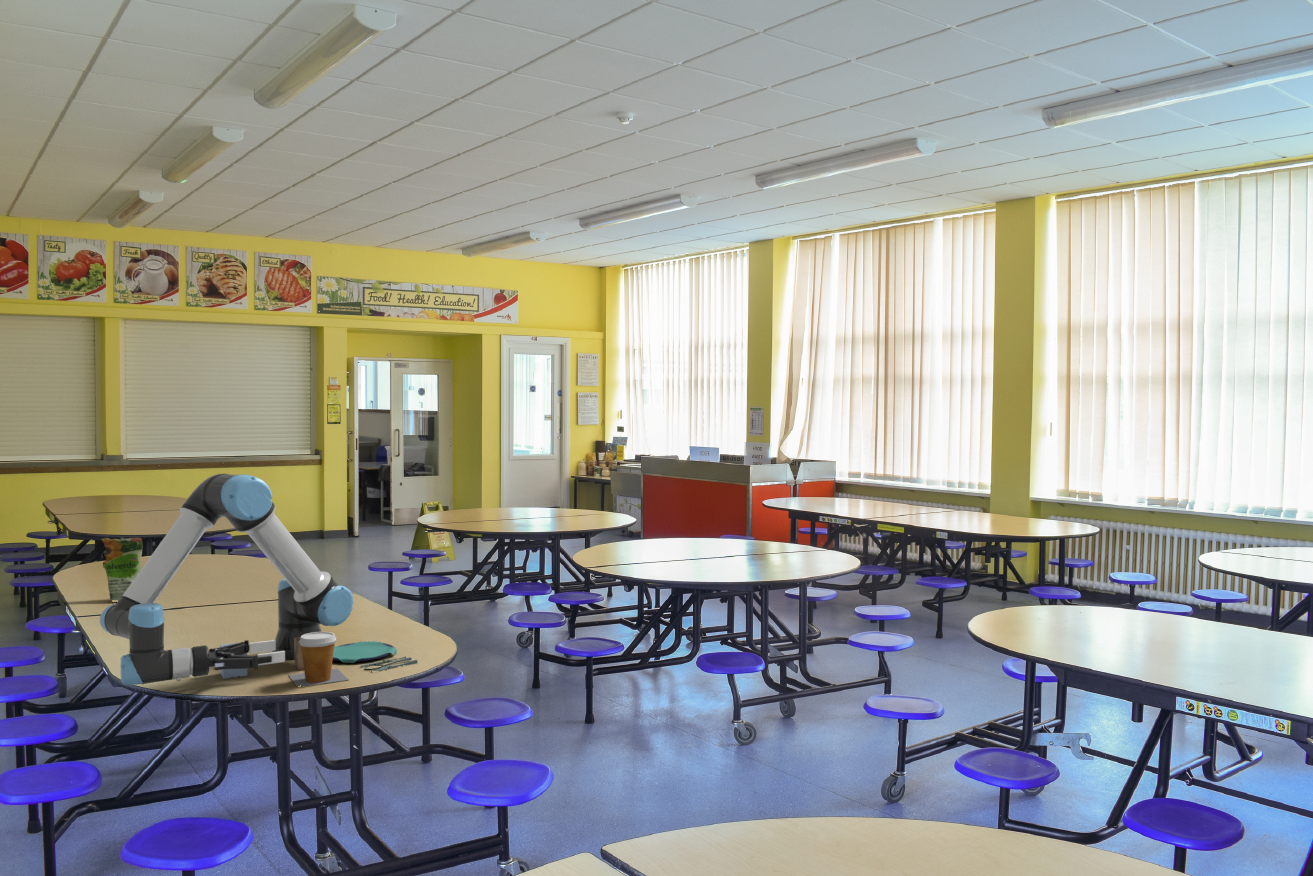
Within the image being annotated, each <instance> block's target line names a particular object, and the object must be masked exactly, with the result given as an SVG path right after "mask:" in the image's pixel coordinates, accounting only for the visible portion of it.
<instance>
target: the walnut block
mask: <svg viewBox="0 0 1313 876" xmlns="http://www.w3.org/2000/svg"><path fill="white" fill-rule="evenodd" d="M300 638H301V637H297V638H294V665H295V666H296V667H295V666H294V667H295V668H296V669H297V671H303V669H304V665H303V658H302V650H301V645H300V643H299V641H300Z"/></svg>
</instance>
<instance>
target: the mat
mask: <svg viewBox="0 0 1313 876" xmlns="http://www.w3.org/2000/svg"><path fill="white" fill-rule="evenodd" d="M288 677H289V678H290V680H291V679H292V680H291V681H292V682H293V683H294V685H295V684H296V685H297V686H300V685H301V687H300V688H304V687H303V686H307V687H311V686H310V685H314V686H317V685H316V684H320V685H325V684H324V683H327V684H333V682H334V683H339V682H346V681H347V680H348V681H349V678H348V677H347V676H345V675H344V673H343V672H341V670H340V669H339V668H332V669H331V677H330V679H329V680H328V681H324V682H318V683H310V682H306V680H305V672H302V673H296V674H289V676H288ZM302 677H303V678H302ZM348 681H347V682H348ZM296 685H295V686H296ZM297 686H296V687H297Z"/></svg>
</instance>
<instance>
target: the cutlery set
mask: <svg viewBox="0 0 1313 876" xmlns="http://www.w3.org/2000/svg"><path fill="white" fill-rule="evenodd" d="M391 654H393V656H396V654H397V648H396V647H395V646H393V645H392V644H389V643H385V642H381V641H377V640H376V641H366V640H365V641H358V642H353V643H352V642H351V643H345V644H341V645H337V646H334V653H333V661H338V662H342V664H354V663H355V662H367V661H373V660H378V659H382V658H385V657H387V656H390V655H391ZM406 661H407V662H406ZM385 662H386V663H385ZM402 662H404V663H402ZM379 663H380V664H379ZM397 663H400V664H397ZM374 664H376V665H374ZM393 664H394V665H393ZM413 664H418V660H417V659H413V660H412V657H411V656H410V657H407V656H406V655H405V656H402V657H398V658H391V659H388V658H386V659H382V661H376V662H371V663H366V664H362V665H360V666H359V668H360V667H361V668H364V669H365V670H367V668H368V667H370V666H368V665H371V666H381V667H371V668H368V669H369V670H370V669H371V670H370V671H371V672H370V673H372V671H379V672H383V671H382V670H385V671H388V670H391V669H392V668H393V669H394V668H399V667H398V666H401V667H404V666H403V665H406V666H409V665H413ZM385 665H386V666H385ZM363 666H366V667H363ZM382 666H383V667H382ZM378 668H379V669H378ZM390 668H391V669H390ZM372 669H374V670H372ZM387 669H388V670H387ZM369 670H368V671H369Z"/></svg>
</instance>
